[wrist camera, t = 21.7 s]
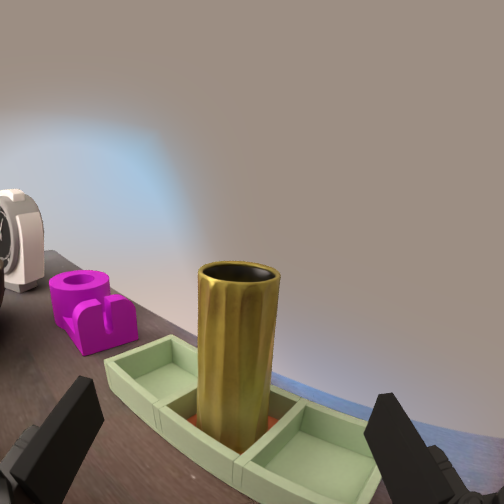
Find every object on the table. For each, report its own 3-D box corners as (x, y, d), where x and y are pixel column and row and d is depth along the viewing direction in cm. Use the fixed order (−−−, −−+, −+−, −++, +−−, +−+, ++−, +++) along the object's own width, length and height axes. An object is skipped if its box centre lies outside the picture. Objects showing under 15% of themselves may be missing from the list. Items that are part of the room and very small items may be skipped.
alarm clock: (-15, 283, 45) (-23, 192, 41) (10, 274, 53) (5, 189, 49) (24, 299, 42) (15, 188, 38) (53, 286, 50) (47, 186, 46)
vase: (277, 449, 20) (303, 284, 17) (200, 459, 18) (193, 286, 15) (257, 404, 26) (270, 259, 23) (192, 409, 24) (188, 258, 21)
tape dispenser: (49, 312, 40) (43, 275, 38) (98, 301, 47) (95, 267, 46) (78, 357, 30) (69, 311, 28) (143, 337, 37) (139, 295, 36)
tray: (385, 459, 18) (400, 431, 18) (342, 539, 11) (360, 519, 10) (173, 360, 33) (171, 333, 32) (109, 388, 26) (103, 359, 25)
